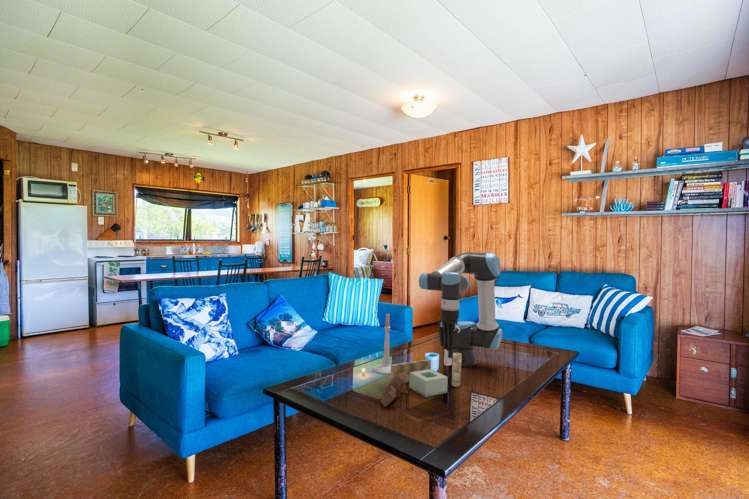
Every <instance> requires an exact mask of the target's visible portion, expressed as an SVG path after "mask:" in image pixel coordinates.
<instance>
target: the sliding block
mask: <svg viewBox="0 0 749 499" xmlns="http://www.w3.org/2000/svg"><path fill="white" fill-rule="evenodd" d="M448 378H449V377H448V376H447V375H444V374H443V373H441V372H438V371H436V370H434V369H432V368H431V369H428V370H422V371H416V372H410V382H409V385H408V386H409V389H411V390H412V391H414V392H416V393H417V394H419V395H421V396H422V397H423V398H429V397H434V396H436V395H442V394H447V393H448Z"/></svg>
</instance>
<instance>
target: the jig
mask: <svg viewBox="0 0 749 499" xmlns="http://www.w3.org/2000/svg"><path fill="white" fill-rule="evenodd" d="M390 365H391V374H390V379H389V380H390V381H391V380H392V379H393V378H394V377H395V376H396V375H397V374H398V373H402V374H403V375H404V377H405V381H404V382H403V383H402V384H406V383H410V372H416V371H422V370H428V369H432V368H431V367H432V360H431V359H430V358H427V359H425V358H424V359H418V360H415V361H414V360H413V361H406V362H400V363H394V364H390ZM390 381H389V382H390Z"/></svg>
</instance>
